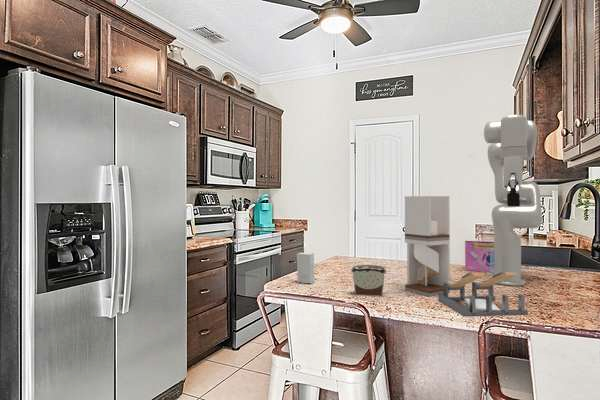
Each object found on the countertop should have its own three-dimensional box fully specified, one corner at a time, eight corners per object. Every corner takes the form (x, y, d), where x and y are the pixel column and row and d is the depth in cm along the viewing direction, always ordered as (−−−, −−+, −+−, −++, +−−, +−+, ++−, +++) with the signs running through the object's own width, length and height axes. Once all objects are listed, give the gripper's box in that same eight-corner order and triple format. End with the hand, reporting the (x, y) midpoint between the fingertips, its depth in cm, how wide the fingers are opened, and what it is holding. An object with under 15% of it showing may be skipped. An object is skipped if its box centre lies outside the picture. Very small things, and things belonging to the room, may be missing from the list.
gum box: (521, 271, 180) (521, 242, 180) (523, 274, 173) (523, 244, 173) (465, 268, 190) (465, 240, 190) (465, 270, 183) (464, 242, 183)
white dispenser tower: (405, 290, 145) (404, 196, 144) (425, 286, 150) (424, 196, 150) (429, 296, 135) (429, 196, 135) (449, 292, 140) (449, 196, 140)
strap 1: (447, 290, 130) (445, 284, 131) (459, 290, 131) (458, 284, 132) (472, 278, 114) (470, 270, 115) (486, 277, 114) (484, 270, 115)
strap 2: (475, 290, 131) (474, 283, 132) (488, 290, 131) (486, 283, 132) (504, 277, 115) (502, 270, 116) (519, 277, 115) (517, 269, 116)
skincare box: (315, 282, 159) (314, 252, 158) (310, 284, 155) (310, 254, 154) (301, 281, 161) (301, 252, 161) (296, 283, 157) (296, 253, 157)
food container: (386, 292, 141) (386, 265, 141) (386, 296, 135) (386, 267, 135) (352, 290, 144) (352, 263, 144) (351, 294, 138) (350, 266, 138)
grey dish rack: (437, 299, 130) (437, 282, 130) (492, 298, 132) (492, 281, 132) (465, 316, 112) (464, 296, 112) (527, 314, 114) (527, 294, 114)
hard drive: (464, 298, 129) (471, 308, 117) (491, 299, 127) (501, 309, 115) (464, 303, 129) (471, 313, 117) (491, 304, 127) (501, 315, 115)
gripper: (502, 157, 135) (502, 206, 135) (498, 151, 121) (498, 206, 120) (527, 156, 132) (527, 206, 131) (526, 149, 117) (526, 206, 116)
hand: (513, 206), depth 126 cm, fingers open, 9 cm apart
